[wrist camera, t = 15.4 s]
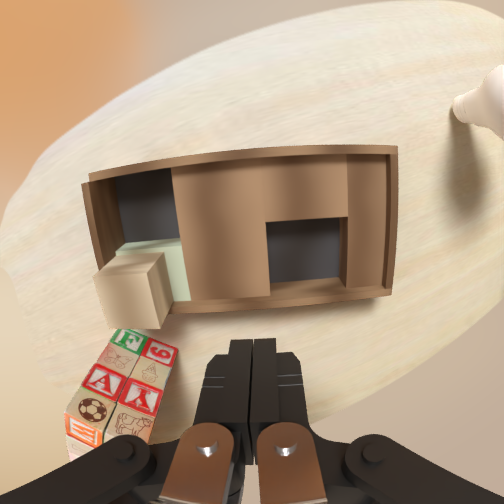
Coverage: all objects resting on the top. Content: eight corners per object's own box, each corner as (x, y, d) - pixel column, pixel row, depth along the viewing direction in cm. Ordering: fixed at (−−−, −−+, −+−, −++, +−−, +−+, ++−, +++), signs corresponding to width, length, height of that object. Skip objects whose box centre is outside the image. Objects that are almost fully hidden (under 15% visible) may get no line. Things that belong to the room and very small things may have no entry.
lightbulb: (481, 146, 20) (569, 159, 10) (433, 139, 20) (528, 146, 10) (476, 84, 18) (561, 75, 8) (428, 71, 18) (515, 46, 8)
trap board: (378, 145, 21) (405, 146, 17) (376, 277, 24) (397, 302, 20) (108, 169, 21) (80, 175, 17) (133, 296, 25) (114, 322, 21)
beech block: (164, 251, 21) (146, 273, 17) (173, 300, 22) (160, 328, 19) (116, 255, 21) (92, 276, 17) (128, 302, 23) (108, 328, 19)
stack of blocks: (144, 447, 34) (124, 516, 22) (103, 430, 33) (76, 496, 21) (179, 347, 27) (146, 451, 15) (119, 322, 26) (61, 413, 15)
